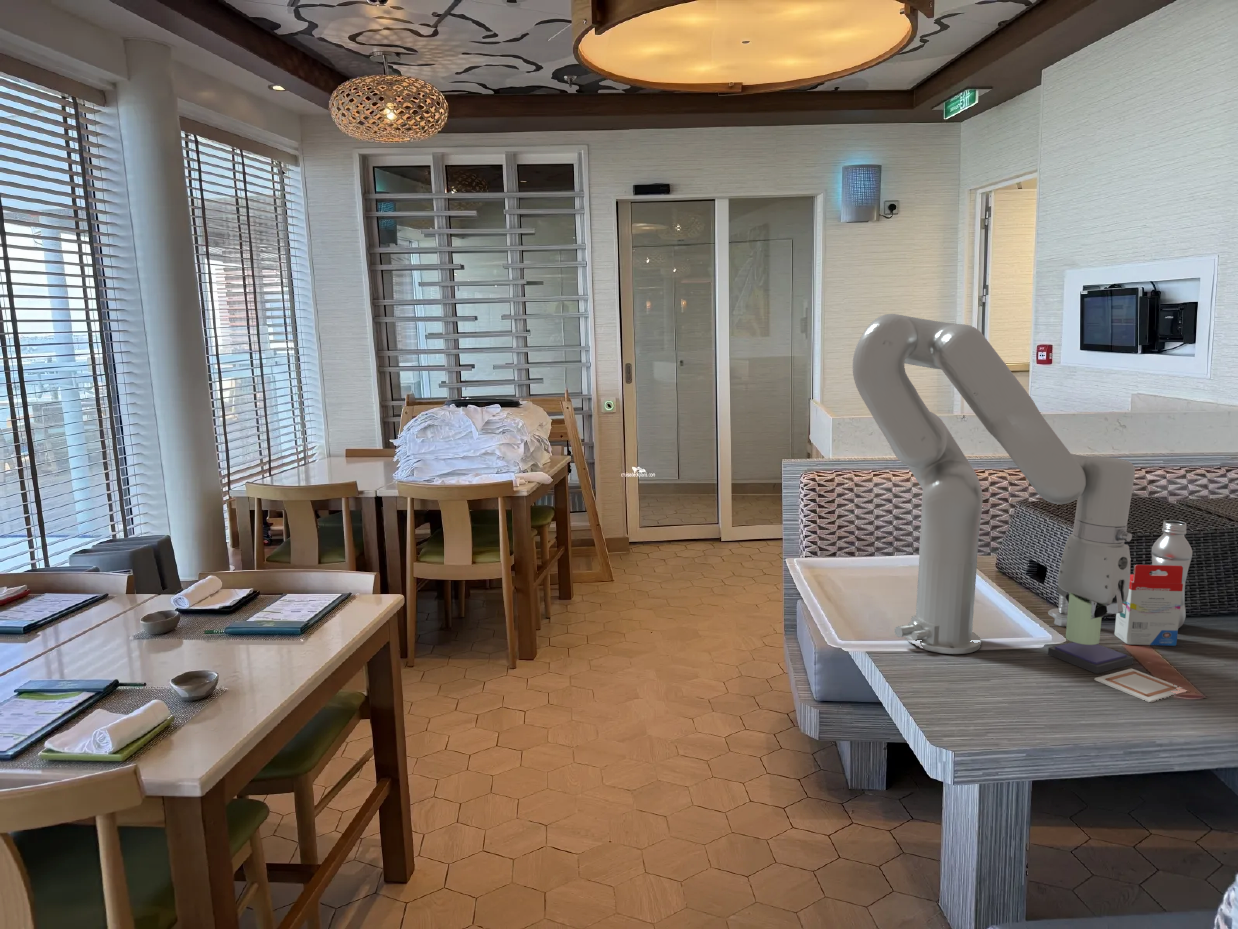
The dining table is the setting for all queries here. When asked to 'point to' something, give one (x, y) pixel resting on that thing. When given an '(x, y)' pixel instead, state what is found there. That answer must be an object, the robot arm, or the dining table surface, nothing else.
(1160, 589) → the ink box
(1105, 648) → the ink pad
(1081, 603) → the candle
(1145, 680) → the square coaster
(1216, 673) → the dining table surface
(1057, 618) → the screw
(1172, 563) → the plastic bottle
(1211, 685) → the dining table surface
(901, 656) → the dining table surface
